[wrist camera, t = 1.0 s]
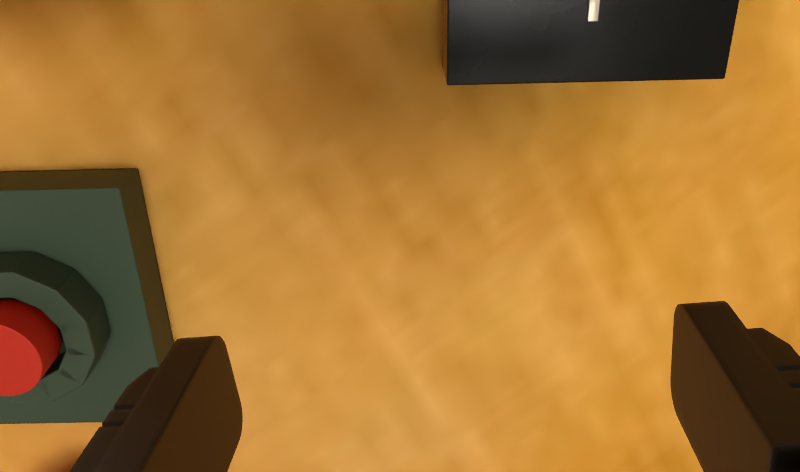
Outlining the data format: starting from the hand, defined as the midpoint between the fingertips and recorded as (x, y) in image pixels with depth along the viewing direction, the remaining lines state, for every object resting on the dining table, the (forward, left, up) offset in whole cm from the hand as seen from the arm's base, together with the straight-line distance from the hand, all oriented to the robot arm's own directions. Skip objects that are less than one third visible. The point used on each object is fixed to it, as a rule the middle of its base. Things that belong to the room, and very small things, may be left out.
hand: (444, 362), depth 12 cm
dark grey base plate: (+9, -17, -18) cm, 26 cm away
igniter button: (+9, -17, -14) cm, 24 cm away
